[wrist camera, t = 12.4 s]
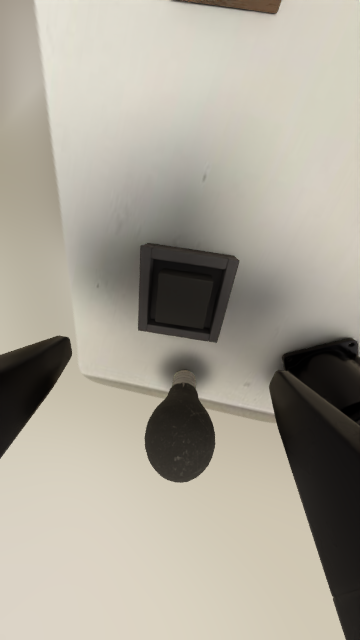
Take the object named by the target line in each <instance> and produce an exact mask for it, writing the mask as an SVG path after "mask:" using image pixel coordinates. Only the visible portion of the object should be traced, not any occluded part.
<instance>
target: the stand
mask: <svg viewBox="0 0 360 640" xmlns="http://www.w3.org/2000/svg"><path fill="white" fill-rule="evenodd" d="M180 1H188V2H195V3H203V4H210V5H218V6H225V7H233V8H240V9H248V10H255V11H263V12H270V13H277V11H278V8H279V6H280V3H281V0H180Z"/></svg>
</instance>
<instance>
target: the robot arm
mask: <svg viewBox="0 0 360 640" xmlns="http://www.w3.org/2000/svg"><path fill="white" fill-rule="evenodd" d="M71 356H72V349H71V343H70V339H69V338H68V337H63V336H56V337H53V338H50V339H47V340H44V341H41V342H38V343H35V344H32V345H29V346H26V347H23V348H20V349H17V350H14V351H11V352H8V353H5V354H2V355H0V458H1V457H2V456H3V454H4V453H5V452H6V450H7V449H8V448H9V446H10V445H11V444H12V442H13V441H14V439H15V438H16V437H17V435H18V434H19V433H20V431H21V430H22V429H23V427H24V426H25V425H26V423H27V422H28V421H29V419H30V418H31V417H32V415H33V414H34V413H35V411H36V410H37V409H38V407H39V406H40V404H41V403H42V402H43V401H44V399H45V398H46V396H47V395H48V394H49V392H50V391H51V390H52V388H53V387H54V385H55V383H56V382H57V380H58V378H59V377H60V375H61V373H62V372H63V370H64V368H65V367H66V365H67V363H68V362H69V360H70V358H71ZM287 358H289V359H287ZM282 361H283V366H284V370H285V371H282V370H277V371H276V372H275V374H274V376H273V378H272V380H271V382H270V385H269V390H270V395H271V399H272V404H273V409H274V413H275V418H276V422H277V426H278V429H279V433H280V435H281V439H282V442H283V445H284V448H285V451H286V454H287V457H288V460H289V464H290V467H291V470H292V473H293V476H294V479H295V482H296V485H297V489H298V492H299V495H300V498H301V501H302V503H303V507H304V510H305V513H306V516H307V520H308V522H309V526H310V529H311V532H312V535H313V538H314V541H315V544H316V548H317V551H318V554H319V557H320V560H321V563H322V566H323V569H324V572H325V576H326V579H327V582H328V585H329V588H330V591H331V594H332V596H333V601H334V604H335V607H336V610H337V614H338V616H339V620H340V623H341V626H342V629H343V632H344V635H345V638H346V640H360V357H359V356H358V343H357V341H355V340H354V339H353V338H347V339H343V340H339V341H335V342H331V343H327V344H323V345H319V346H315V347H311V348H307V349H303V350H299V351H295V352H290V353H286V354H284V355H283V356H282Z"/></svg>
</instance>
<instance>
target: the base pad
mask: <svg viewBox="0 0 360 640" xmlns="http://www.w3.org/2000/svg"><path fill="white" fill-rule="evenodd" d="M238 264H239V260H238V259H237V258H236V257H235V256H231V255H224V254H218V253H211V252H205V251H198V250H191V249H185V248H178V247H171V246H165V245H158V244H152V243H147V244H144V245H141V251H140V283H139V316H138V330H139V331H147V332H152V333H158V334H165V335H171V336H177V337H184V338H190V339H196V340H203V341H208V340H209V342H216V343H217V341H218V337H219V334H220V330H221V326H222V323H223V319H224V315H225V312H226V308H227V304H228V301H229V297H230V293H231V290H232V286H233V282H234V279H235V275H236V271H237V268H238ZM163 268H168V269H174V270H181V271H187V272H194V273H201V274H207V275H212V279H213V286H212V291H211V296H210V300H209V305H208V309H207V314H206V318H205V323H204V327H203V329H200V328H194V327H187V326H181V325H174V324H168V323H161V322H156V321H155V315H156V302H157V289H158V276H159V273H160V271H161V270H162V269H163Z"/></svg>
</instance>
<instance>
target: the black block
mask: <svg viewBox="0 0 360 640" xmlns="http://www.w3.org/2000/svg"><path fill="white" fill-rule="evenodd" d="M212 286H213V279H212V275H207V274H201V273H194V272H187V271H181V270H174V269H168V268H163V269H162V270H161V271H160V273H159V276H158V289H157V302H156V315H155V321H156V322H161V323H168V324H174V325H181V326H187V327H194V328H200V329H203V327H204V323H205V318H206V314H207V309H208V305H209V300H210V296H211V291H212Z"/></svg>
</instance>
